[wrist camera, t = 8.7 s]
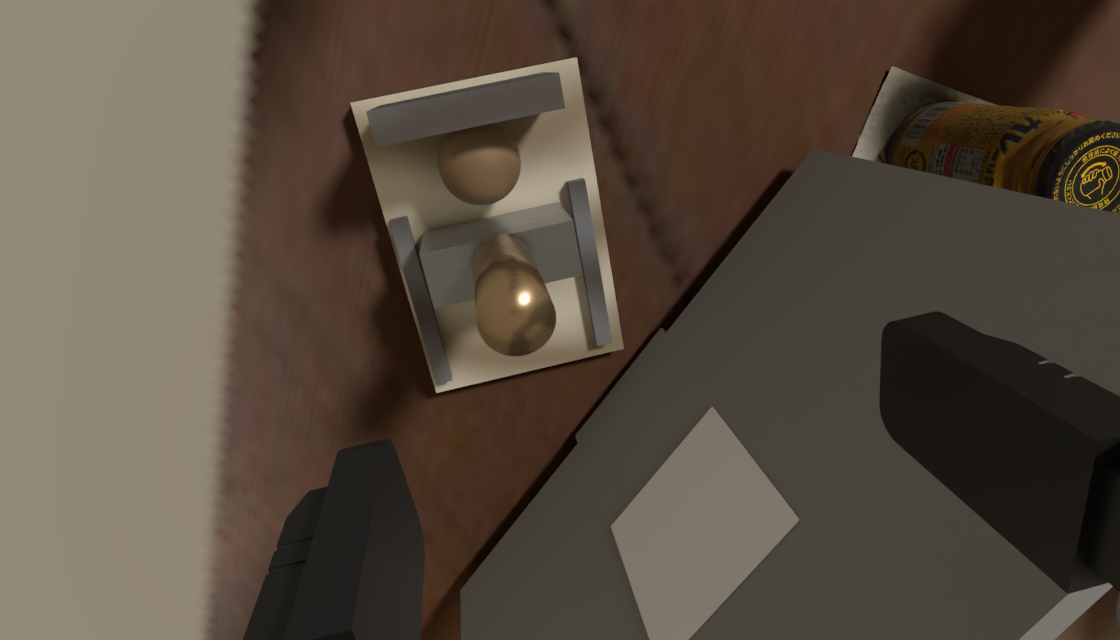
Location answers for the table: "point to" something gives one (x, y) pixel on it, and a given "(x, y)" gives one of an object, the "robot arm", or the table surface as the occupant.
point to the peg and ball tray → (492, 203)
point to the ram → (504, 272)
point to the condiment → (993, 143)
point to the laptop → (809, 432)
